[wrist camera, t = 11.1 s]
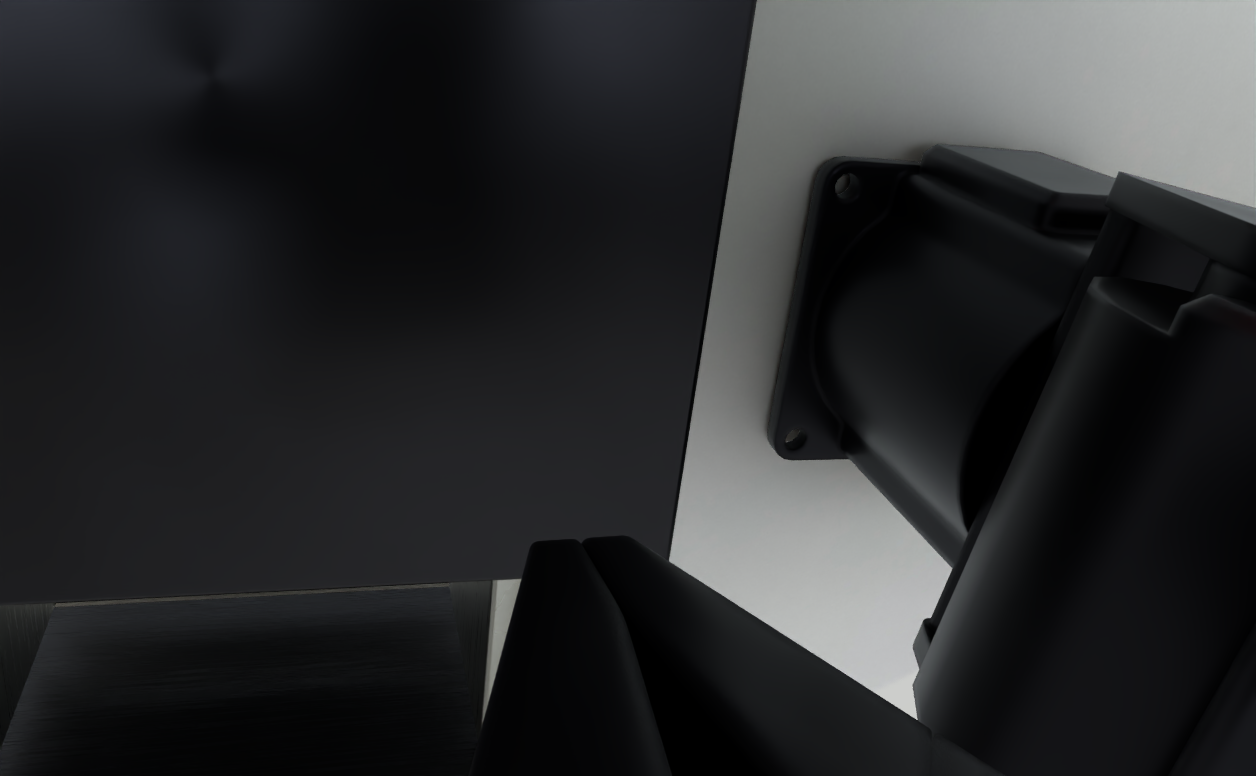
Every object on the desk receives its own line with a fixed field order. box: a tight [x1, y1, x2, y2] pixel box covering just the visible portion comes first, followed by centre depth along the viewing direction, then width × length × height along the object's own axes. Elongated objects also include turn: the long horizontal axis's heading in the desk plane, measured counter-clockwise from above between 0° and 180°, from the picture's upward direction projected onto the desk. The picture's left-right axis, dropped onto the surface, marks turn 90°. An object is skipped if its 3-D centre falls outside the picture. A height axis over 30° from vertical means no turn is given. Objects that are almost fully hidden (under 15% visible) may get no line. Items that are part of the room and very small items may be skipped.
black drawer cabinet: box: [0, 0, 757, 606], centre depth 13 cm, size 12×11×8 cm
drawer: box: [0, 579, 521, 776], centre depth 17 cm, size 15×9×6 cm, turn 173°
